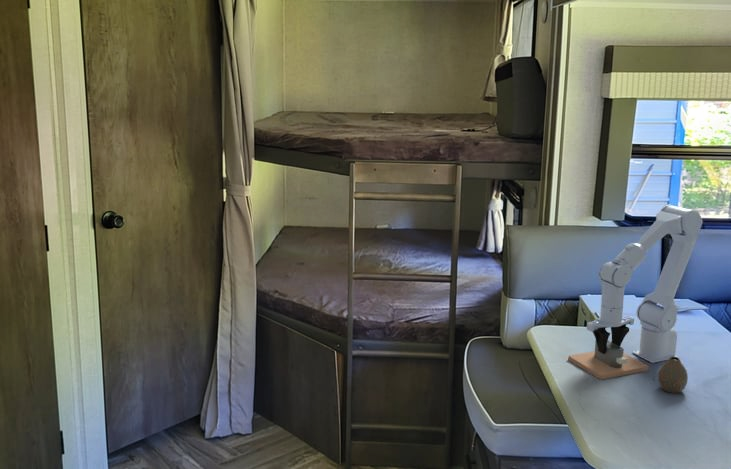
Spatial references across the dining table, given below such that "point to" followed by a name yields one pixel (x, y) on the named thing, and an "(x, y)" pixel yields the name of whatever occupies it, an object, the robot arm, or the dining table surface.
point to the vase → (672, 375)
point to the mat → (604, 370)
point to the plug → (611, 355)
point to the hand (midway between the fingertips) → (608, 351)
